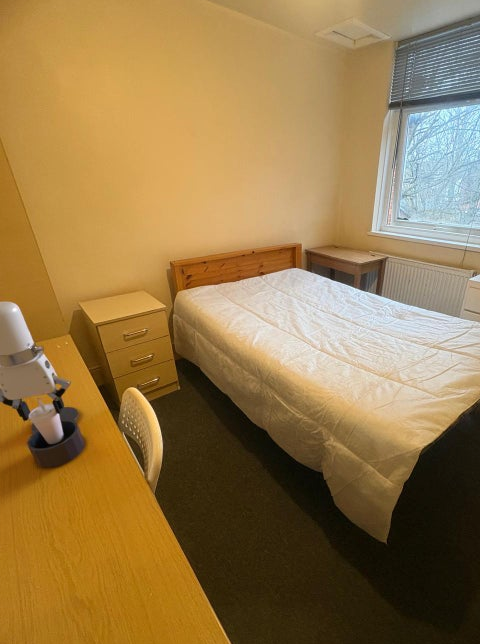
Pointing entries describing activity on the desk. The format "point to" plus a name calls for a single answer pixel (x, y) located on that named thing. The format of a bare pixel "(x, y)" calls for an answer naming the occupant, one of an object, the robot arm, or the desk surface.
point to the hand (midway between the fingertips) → (44, 413)
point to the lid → (64, 416)
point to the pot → (57, 446)
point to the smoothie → (47, 422)
